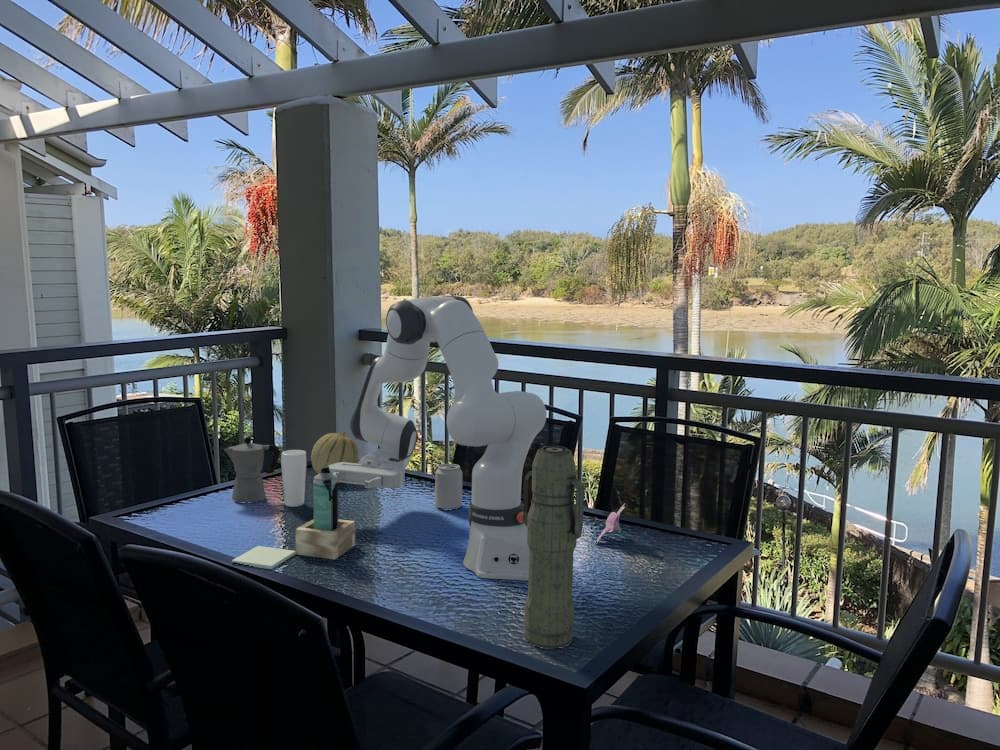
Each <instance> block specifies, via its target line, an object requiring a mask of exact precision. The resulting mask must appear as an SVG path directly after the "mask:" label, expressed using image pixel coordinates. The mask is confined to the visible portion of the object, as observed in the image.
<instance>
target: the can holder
mask: <svg viewBox="0 0 1000 750" xmlns="http://www.w3.org/2000/svg"><path fill="white" fill-rule="evenodd" d="M353 546H354V547H355V546H356V521H355V520H347V519H340V518H338V528H336V529H335V530H333V531H325V530H317V529H314V518H313V519H311V520H309V521H307V522H305V523H304V524H302V525H300V526H298V527H297V528H295V551H296V554H295V555H299V556H306V557H313V558H320V559H321V558H322V559H327V560H334V561H335V560H336V559H338V558H339V557H341V556H342V555H343V554H345V553H346V552H348V551H350V550H351V549H353ZM350 548H351V549H350Z"/></svg>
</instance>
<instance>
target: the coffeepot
mask: <svg viewBox="0 0 1000 750" xmlns="http://www.w3.org/2000/svg"><path fill="white" fill-rule="evenodd" d="M244 440H245V442H244V443H241V444H237V445H233V446H228V447H225V448H224V449H223V451H224V452H225V453H226V454H227V456H228V457H229V458H230V460H231V461H232V464H233V468H234V470H233V471H235V474H236V475H235V478H234V484H233V488H232V489H233V491H232V496H231V499H232V501H233V500H234V501H235V502H234V501H233V502H234V503H237V502H245V503H244V504H249V503H248V502H255V503H257V502H256V501H259V502H262V501H263V500H262V499H264V498H265V499H266V498H267V497H266V491H265V485H264V480H263V476H262V474H261V473H262V472H261V471H262V470H263V466H264V459H265V453H269V452H273V455H272V461H271V463H270V469H267V470H265V472H266V474H273V473H274V472H275V470H276V466H277V464H278V462H279V461H278V460H279V458H280V455H281V450H280V448H278V447H277V446H276V444H259V443H252V442H251V440H252V438H251V437H250V436H247V437H245V438H244ZM265 499H264V500H265ZM261 500H262V501H261Z"/></svg>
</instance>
